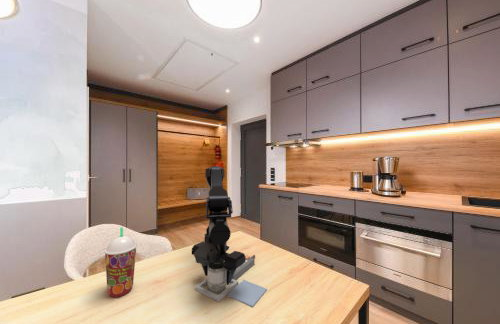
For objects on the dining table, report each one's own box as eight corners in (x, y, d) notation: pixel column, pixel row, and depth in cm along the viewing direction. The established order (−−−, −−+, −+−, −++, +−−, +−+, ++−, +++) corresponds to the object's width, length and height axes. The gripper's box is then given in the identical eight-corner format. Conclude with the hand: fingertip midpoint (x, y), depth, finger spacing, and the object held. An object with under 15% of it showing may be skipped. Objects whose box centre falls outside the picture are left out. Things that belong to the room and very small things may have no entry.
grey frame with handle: (194, 289, 62) (194, 281, 62) (244, 254, 87) (244, 248, 87) (218, 301, 57) (218, 292, 57) (264, 260, 82) (264, 254, 82)
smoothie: (101, 304, 56) (102, 233, 56) (106, 287, 63) (107, 225, 63) (135, 295, 60) (136, 229, 60) (136, 280, 67) (137, 222, 67)
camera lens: (226, 292, 61) (226, 267, 61) (206, 294, 61) (206, 268, 61) (226, 280, 67) (227, 258, 68) (208, 281, 67) (208, 258, 67)
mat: (227, 295, 60) (227, 294, 60) (243, 280, 68) (243, 279, 68) (252, 307, 55) (252, 306, 55) (267, 290, 63) (267, 288, 63)
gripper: (178, 233, 62) (177, 283, 62) (224, 247, 52) (223, 306, 52) (204, 224, 72) (203, 267, 72) (246, 235, 62) (246, 284, 62)
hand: (217, 279), depth 64 cm, fingers open, 9 cm apart
